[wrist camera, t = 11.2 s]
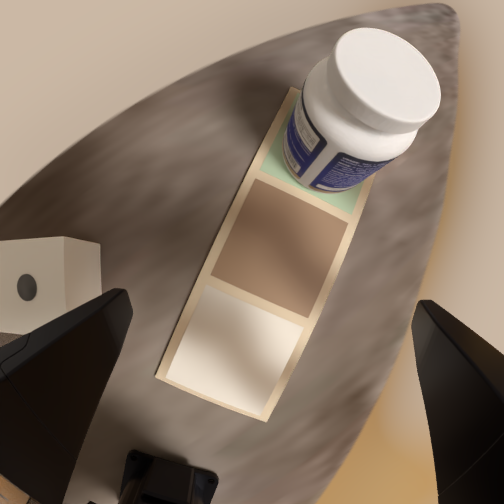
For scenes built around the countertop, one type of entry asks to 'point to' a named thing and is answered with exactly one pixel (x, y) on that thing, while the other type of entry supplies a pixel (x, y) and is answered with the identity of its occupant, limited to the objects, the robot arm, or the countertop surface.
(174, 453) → the countertop surface
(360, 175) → the pill bottle
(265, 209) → the game board
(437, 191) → the countertop surface
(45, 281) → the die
